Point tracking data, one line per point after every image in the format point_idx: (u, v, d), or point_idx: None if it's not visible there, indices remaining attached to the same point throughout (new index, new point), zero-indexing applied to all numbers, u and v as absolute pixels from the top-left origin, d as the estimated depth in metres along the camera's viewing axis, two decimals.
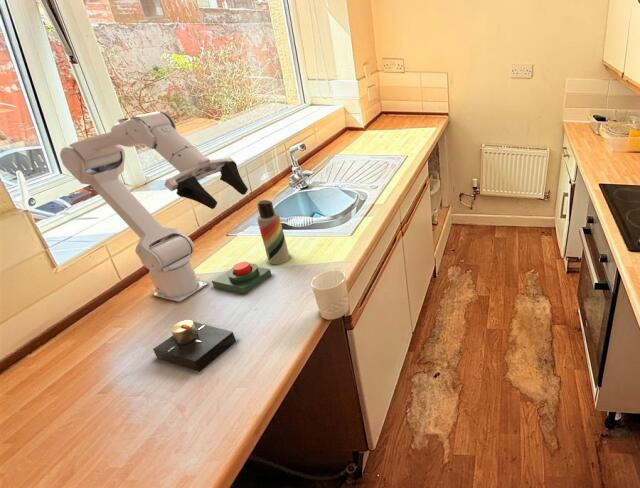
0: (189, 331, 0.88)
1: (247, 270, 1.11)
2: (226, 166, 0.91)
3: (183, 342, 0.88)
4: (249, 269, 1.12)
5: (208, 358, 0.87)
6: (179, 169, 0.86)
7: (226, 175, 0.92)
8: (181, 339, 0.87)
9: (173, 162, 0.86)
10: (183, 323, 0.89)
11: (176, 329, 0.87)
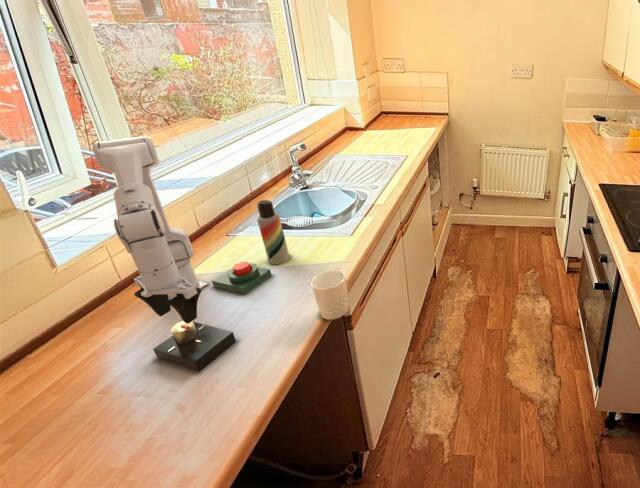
0: (189, 331, 0.88)
1: (247, 270, 1.11)
2: None
3: (183, 342, 0.88)
4: (249, 269, 1.12)
5: (208, 358, 0.87)
6: None
7: None
8: (181, 339, 0.87)
9: None
10: (183, 323, 0.89)
11: (176, 329, 0.87)
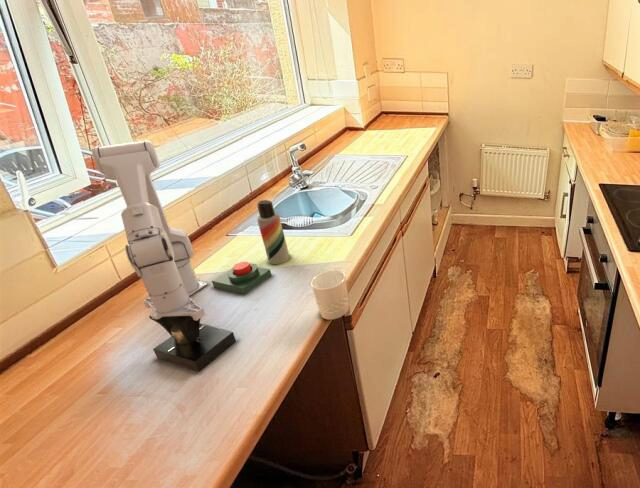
0: None
1: (247, 270, 1.11)
2: None
3: (183, 342, 0.88)
4: (249, 269, 1.12)
5: (208, 358, 0.87)
6: None
7: None
8: (181, 339, 0.87)
9: None
10: None
11: (176, 329, 0.87)
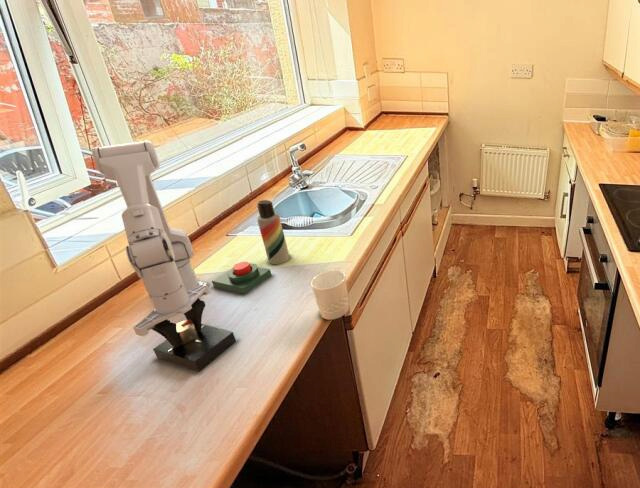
0: None
1: (247, 270, 1.11)
2: (195, 310, 0.88)
3: (197, 334, 0.90)
4: (249, 269, 1.12)
5: (208, 358, 0.87)
6: (155, 306, 0.83)
7: (188, 311, 0.89)
8: (195, 331, 0.90)
9: (153, 299, 0.82)
10: (177, 327, 0.88)
11: (185, 327, 0.88)
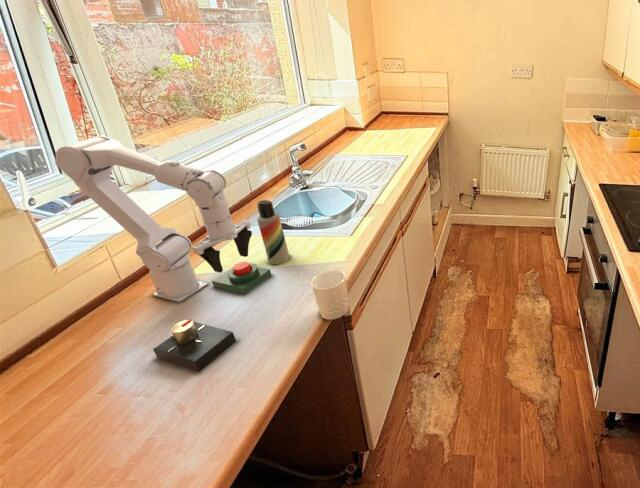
0: None
1: (247, 270, 1.11)
2: (244, 236, 1.07)
3: (197, 334, 0.90)
4: (249, 269, 1.12)
5: (208, 358, 0.87)
6: (208, 232, 1.00)
7: (238, 238, 1.08)
8: (195, 331, 0.90)
9: (208, 226, 0.99)
10: (177, 327, 0.88)
11: (185, 327, 0.88)
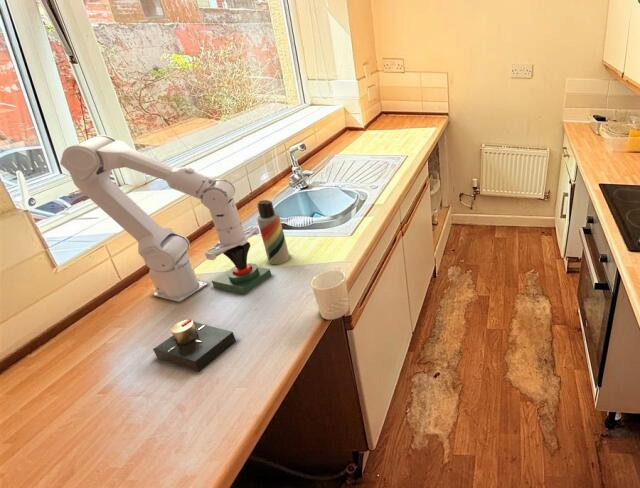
0: None
1: (247, 272, 1.11)
2: (242, 248, 1.08)
3: (197, 334, 0.90)
4: None
5: (208, 358, 0.87)
6: (220, 238, 1.04)
7: None
8: (195, 331, 0.90)
9: (219, 232, 1.04)
10: (177, 327, 0.88)
11: (185, 327, 0.88)
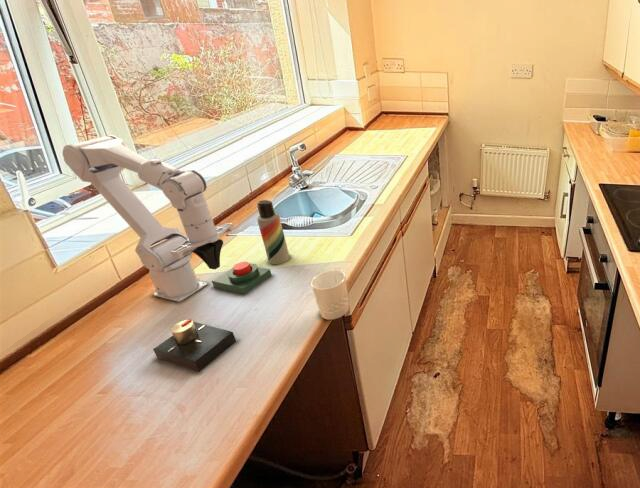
0: None
1: (247, 270, 1.11)
2: (214, 246, 0.99)
3: (197, 334, 0.90)
4: (249, 269, 1.12)
5: (208, 358, 0.87)
6: (188, 235, 0.95)
7: None
8: (195, 331, 0.90)
9: (187, 229, 0.94)
10: (177, 327, 0.88)
11: (185, 327, 0.88)
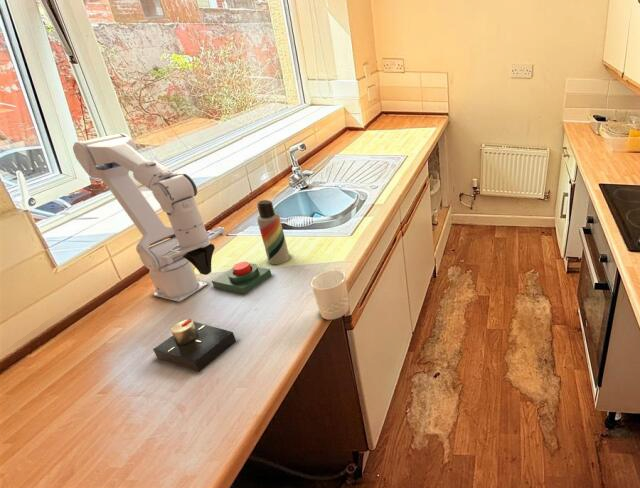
0: None
1: (247, 270, 1.11)
2: (205, 251, 0.97)
3: (197, 334, 0.90)
4: (249, 269, 1.12)
5: (208, 358, 0.87)
6: (178, 240, 0.93)
7: None
8: (195, 331, 0.90)
9: (177, 233, 0.92)
10: (177, 327, 0.88)
11: (185, 327, 0.88)
